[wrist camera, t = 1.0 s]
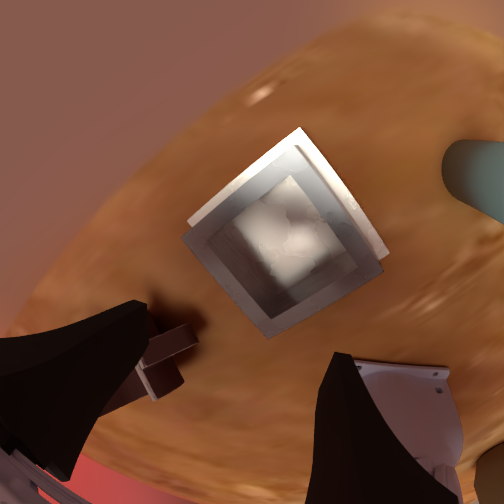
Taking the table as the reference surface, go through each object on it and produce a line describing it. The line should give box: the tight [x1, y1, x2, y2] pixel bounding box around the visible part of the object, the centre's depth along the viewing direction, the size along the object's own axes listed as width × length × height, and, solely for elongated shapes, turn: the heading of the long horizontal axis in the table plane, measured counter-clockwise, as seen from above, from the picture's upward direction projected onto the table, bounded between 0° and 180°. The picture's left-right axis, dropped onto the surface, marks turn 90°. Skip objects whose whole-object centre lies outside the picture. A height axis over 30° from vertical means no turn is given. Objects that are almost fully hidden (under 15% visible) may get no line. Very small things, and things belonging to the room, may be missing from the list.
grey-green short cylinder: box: [442, 140, 504, 224], centre depth 11 cm, size 4×4×7 cm
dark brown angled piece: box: [98, 310, 199, 418], centre depth 22 cm, size 6×17×10 cm, turn 132°
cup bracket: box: [181, 127, 390, 339], centre depth 17 cm, size 9×9×4 cm
